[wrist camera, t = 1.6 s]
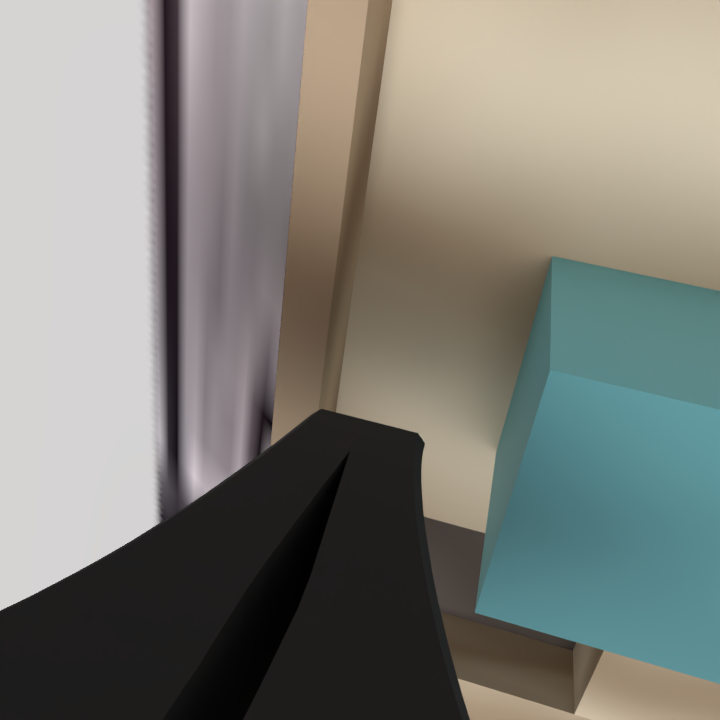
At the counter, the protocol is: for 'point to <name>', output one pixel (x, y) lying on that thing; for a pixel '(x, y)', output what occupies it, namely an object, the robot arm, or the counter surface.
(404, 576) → the robot arm
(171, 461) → the counter surface
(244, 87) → the counter surface
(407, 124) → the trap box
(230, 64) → the counter surface
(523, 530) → the block
